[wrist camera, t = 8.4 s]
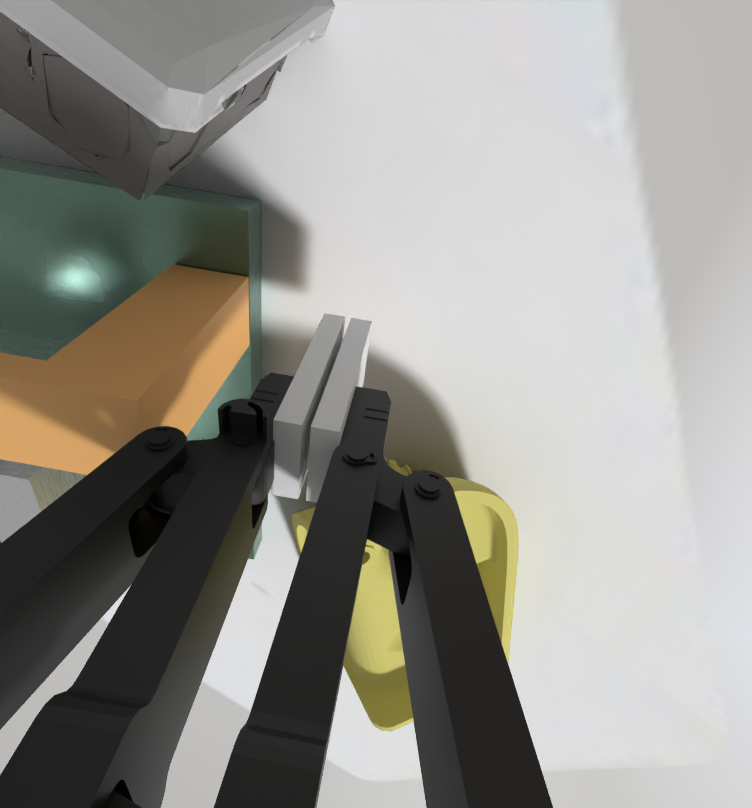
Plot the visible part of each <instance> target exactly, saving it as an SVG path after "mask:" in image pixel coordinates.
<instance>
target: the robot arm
mask: <svg viewBox="0 0 752 808" xmlns="http://www.w3.org/2000/svg"><path fill="white" fill-rule="evenodd" d="M344 323H345V317H343V316H337V315H331V314H324V316H323V318H322V320H321V322H320V324H319V326H318V328H317V330H316V332H315V334H314V336H313V339H312V341H311V343H310V345H309V347H308V349H307V351H306V353H305V355H304V357H303V359H302V361H301V364H300V366H299V368H298V370H297V372H296V374H295V376H294V377H293V376H287V375H281V374H275V373H270V374H269V375H267V376H266V377H264V378H263V379H261V380H260V382H259V383H258V385H257V387H256V389H255V392H253V394H252V395H251V397H250V399H241V398H240V399H235V400H230V401H228V402H226V403H224V404H222V405H221V406H220V407H219V408H218V422H219V435H218V436H217V437H216V438H213V439H205V440H187V437H186V435H185V434H184V432H183V431H181V430H179V429H178V428H175V427H170V426H158V427H154V428H150V429H147V430H145V431H143V432H142V433H140V434H138V435H137V436H136V437H134V438H133V439H132V440H131V441H129V442H128V443H127V444H126V445H124V446H123V447H122V448H121V449H119V450H118V451H117V452H116V453H114V454H113V455H112V456H111V457H109V458H108V459H107V460H105V461H104V462H103V463H102V464H100V465H99V466H98V467H97V468H95V469H94V470H93V471H92V472H90V473H89V474H88V475H87V476H85V477H84V478H83V479H82V480H80V481H79V482H78V483H76V484H75V485H74V486H73V487H71V488H70V489H69V490H68V491H66V492H65V493H64V494H63V495H61V496H60V497H59V498H58V499H56V500H55V501H54V502H52V503H51V504H50V505H49V506H47V507H46V508H45V509H44V510H42V511H41V512H40V513H39V514H37V515H36V516H35V517H34V518H32V519H31V520H30V521H29V522H27V523H26V524H25V525H23V526H22V527H21V528H20V529H18V530H17V531H16V532H15V533H13V534H12V535H11V536H10V537H8V538H7V539H6V540H5V541H3V542H2V543H1V544H0V729H1V728H2V727H3V726H4V725H5V724H6V723H7V721H8V720H9V719H10V718H11V717H12V716H13V715H14V714H15V713H16V712H17V710H18V709H19V708H20V707H21V706H22V705H23V704H24V703H25V702H26V700H27V699H28V698H29V697H30V696H31V695H32V694H33V693H34V692H35V691H36V689H37V688H38V687H39V686H40V685H41V684H42V683H43V682H44V681H45V679H46V678H47V677H48V676H49V675H50V674H51V673H52V672H53V671H54V669H55V668H56V667H57V666H58V665H59V664H60V663H61V662H62V660H64V658H65V657H66V656H67V655H68V654H69V653H70V652H71V651H72V650H73V649H74V647H75V646H76V645H77V644H78V643H79V642H80V641H81V640H82V639H83V637H84V636H85V635H86V634H87V633H88V632H89V631H90V630H91V629H92V627H93V626H94V625H95V624H96V623H97V622H98V621H99V620H100V619H101V618H102V616H103V615H104V614H105V613H106V612H107V611H108V610H109V609H110V608H111V606H112V605H113V604H114V603H115V602H116V601H117V600H118V599H119V598H120V596H121V595H122V594H123V593H124V592H125V591H126V590H127V589H128V588H129V587H130V585H131V584H132V585H131V587H130V588H129V590H128V592H127V593H126V595H125V597H124V599H123V600H122V602H121V604H120V605H119V607H118V609H117V611H116V612H115V614H114V616H113V618H112V619H111V621H110V623H109V624H108V626H107V628H106V630H105V631H104V633H103V635H102V637H101V638H100V640H99V642H98V644H97V645H96V647H95V649H94V651H93V652H92V654H91V656H90V657H89V659H88V661H87V662H86V664H85V666H84V668H83V669H82V671H81V673H80V674H79V676H78V678H77V679H76V681H75V682H74V684H73V686H72V687H70V688H69V689H68V690H67V691H66V692H63V693H60V694H57V695H54V696H53V697H52V698H51V699H50V700H49V701H48V702H47V703H46V704H45V705H44V707H43V708H42V709H41V711H40V712H39V714H38V715H37V716H36V718H35V719H34V721H33V723H32V724H31V726H30V728H29V729H28V731H27V732H26V734H25V736H24V737H23V739H22V741H21V742H20V744H19V746H18V747H17V749H16V751H15V752H14V754H13V756H12V757H11V759H10V760H9V762H8V764H7V765H6V767H5V769H4V770H3V772H2V774H1V775H0V808H160V807H161V804H162V800H163V796H164V792H165V786H166V780H167V774H168V770H169V767H170V763H171V760H172V757H173V754H174V752H175V749H176V747H177V744H178V742H179V739H180V736H181V733H182V731H183V728H184V726H185V723H186V721H187V718H188V715H189V712H190V710H191V707H192V705H193V702H194V699H195V697H196V694H197V692H198V689H199V686H200V684H201V681H202V678H203V676H204V673H205V671H206V668H207V665H208V663H209V660H210V657H211V655H212V652H213V649H214V647H215V644H216V642H217V639H218V636H219V634H220V631H221V628H222V626H223V623H224V621H225V618H226V615H227V613H228V610H229V607H230V605H231V602H232V599H233V597H234V594H235V592H236V589H237V586H238V584H239V581H240V578H241V576H242V573H243V570H244V568H245V565H246V563H247V560H248V557H249V555H250V552H251V549H252V547H253V544H254V542H255V539H256V536H257V534H258V531H259V528H260V526H261V523H262V520H263V518H264V515H265V513H266V510H267V504H268V493H269V490H270V488H271V485H272V495H277V496H282V497H288V498H293V499H298V498H299V495H300V492H301V489H302V487H303V484H304V481H305V478H306V475H307V472H308V477H307V492H306V501H310V502H316V503H317V504H316V507H315V511H314V514H313V517H312V520H311V523H310V526H309V530H308V533H307V536H306V539H305V542H304V545H303V548H302V552H301V555H300V558H299V561H298V564H297V567H296V571H295V574H294V577H293V580H292V583H291V586H290V590H289V593H288V596H287V599H286V602H285V605H284V608H283V612H282V615H281V618H280V621H279V624H278V627H277V631H276V634H275V637H274V640H273V643H272V646H271V650H270V653H269V656H268V659H267V662H266V665H265V668H264V672H263V675H262V678H261V681H260V684H259V687H258V691H257V694H256V697H255V700H254V703H253V706H252V710H251V712H250V715H249V718H248V720H247V723H246V724H245V725H244V726H243V728H242V729H241V731H240V733H239V735H238V737H237V740H236V742H235V745H234V748H233V751H232V754H231V756H230V759H229V763H228V766H227V769H226V772H225V775H224V778H223V781H222V784H221V787H220V790H219V793H218V796H217V799H216V803H215V806H214V808H316V807H317V801H318V796H319V790H320V784H321V780H322V775H323V769H324V764H325V759H326V753H327V748H328V743H329V738H330V732H331V727H332V722H333V717H334V711H335V706H336V701H337V695H338V690H339V685H340V680H341V674H342V669H343V664H344V658H345V653H346V648H347V643H348V637H349V632H350V627H351V621H352V616H353V611H354V606H355V600H356V595H357V590H358V584H359V579H360V574H361V569H362V563H363V558H364V553H365V548H366V543H367V539H368V540H370V541H372V542H374V543H376V544H378V545H380V546H382V547H384V548H386V549H388V550H389V560H390V567H391V573H392V580H393V587H394V593H395V600H396V607H397V613H398V620H399V627H400V633H401V640H402V647H403V653H404V660H405V667H406V673H407V680H408V687H409V693H410V700H411V706H412V713H413V720H414V726H415V733H416V740H417V746H418V753H419V760H420V766H421V773H422V780H423V786H424V793H425V799H426V806H427V808H553V806H552V803H551V800H550V796H549V794H548V790H547V787H546V784H545V780H544V777H543V774H542V771H541V768H540V764H539V761H538V758H537V755H536V752H535V748H534V745H533V742H532V739H531V736H530V732H529V729H528V726H527V723H526V720H525V717H524V713H523V710H522V707H521V704H520V701H519V697H518V694H517V691H516V688H515V685H514V681H513V678H512V675H511V672H510V669H509V665H508V662H507V659H506V656H505V653H504V649H503V646H502V643H501V640H500V637H499V633H498V630H497V627H496V624H495V621H494V618H493V614H492V611H491V608H490V605H489V602H488V598H487V595H486V592H485V589H484V586H483V582H482V579H481V576H480V573H479V570H478V566H477V563H476V560H475V557H474V554H473V550H472V547H471V544H470V541H469V538H468V534H467V531H466V528H465V525H464V522H463V519H462V515H461V512H460V509H459V506H458V503H457V499H456V496H455V493H454V490H453V487H452V486H451V484H450V482H449V481H448V480H447V479H445V478H444V477H443V476H442V475H439V474H437V473H435V472H431V471H425V470H423V471H415V472H413V473H411V474H409V475H407V476H405V475H403V474H400V473H398V472H397V471H395V470H393V469H392V468H391V467H390V466H388V464H387V463H386V462H385V460H384V457H383V446H384V440H385V434H386V428H387V422H388V416H389V410H390V404H391V401H390V399H389V397H388V394H387V392H385V391H380V390H374V389H368V388H363V384H364V376H365V369H366V361H367V354H368V346H369V339H370V332H371V324H372V321H366V320H360V319H355V318H351V320H350V323H349V326H348V328H347V331H346V334H345V336H344V339H343V333H344ZM272 483H273V484H272Z"/></svg>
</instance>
